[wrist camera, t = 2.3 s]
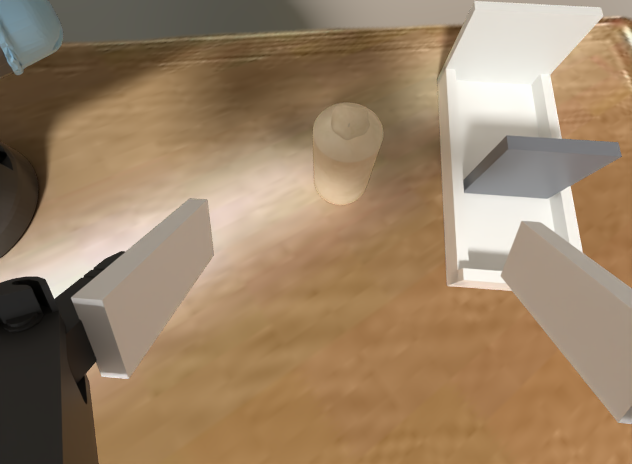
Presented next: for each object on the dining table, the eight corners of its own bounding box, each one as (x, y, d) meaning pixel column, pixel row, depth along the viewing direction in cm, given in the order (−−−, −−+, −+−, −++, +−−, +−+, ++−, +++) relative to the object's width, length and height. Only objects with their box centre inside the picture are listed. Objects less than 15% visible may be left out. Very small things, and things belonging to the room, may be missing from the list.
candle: (303, 177, 32) (297, 114, 23) (343, 148, 33) (353, 76, 24) (337, 216, 31) (345, 166, 22) (377, 184, 32) (403, 123, 23)
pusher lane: (446, 285, 29) (501, 267, 20) (437, 79, 36) (474, 0, 28) (567, 295, 29) (673, 280, 20) (533, 84, 36) (601, 7, 27)
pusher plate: (462, 192, 30) (508, 149, 23) (461, 181, 31) (506, 135, 23) (547, 198, 30) (621, 156, 23) (545, 187, 31) (618, 142, 23)
